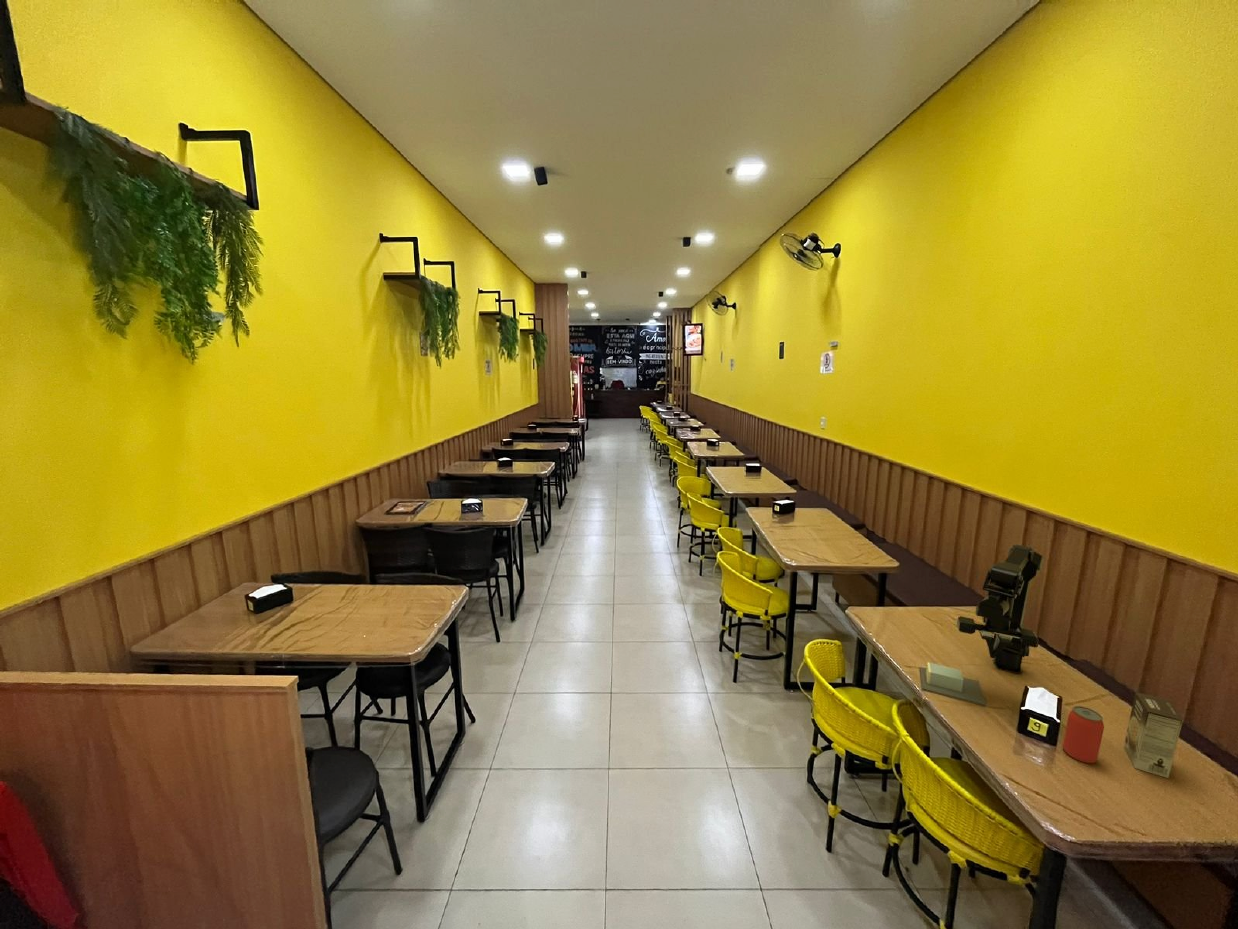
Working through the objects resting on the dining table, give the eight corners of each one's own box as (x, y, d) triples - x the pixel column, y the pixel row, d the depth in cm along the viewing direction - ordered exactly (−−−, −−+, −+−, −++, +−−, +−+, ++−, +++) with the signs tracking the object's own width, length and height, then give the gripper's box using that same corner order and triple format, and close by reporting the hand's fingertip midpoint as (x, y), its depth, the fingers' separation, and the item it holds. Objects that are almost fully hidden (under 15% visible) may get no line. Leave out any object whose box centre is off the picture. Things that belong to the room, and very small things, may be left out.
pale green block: (960, 670, 155) (927, 662, 159) (963, 680, 150) (928, 671, 154) (959, 681, 156) (925, 673, 160) (961, 692, 151) (927, 683, 155)
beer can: (1090, 750, 128) (1098, 708, 126) (1101, 768, 123) (1110, 725, 120) (1058, 742, 131) (1065, 701, 129) (1067, 759, 125) (1076, 717, 123)
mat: (978, 682, 156) (978, 681, 156) (985, 706, 145) (985, 704, 145) (919, 668, 164) (919, 666, 164) (922, 689, 153) (922, 688, 152)
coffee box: (1121, 745, 130) (1133, 690, 127) (1156, 755, 127) (1169, 699, 124) (1133, 768, 123) (1146, 710, 120) (1170, 779, 119) (1185, 720, 116)
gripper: (1032, 605, 148) (1024, 653, 151) (958, 591, 157) (951, 637, 159) (1043, 621, 138) (1034, 671, 141) (962, 605, 147) (955, 654, 150)
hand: (991, 657), depth 148 cm, fingers closed
